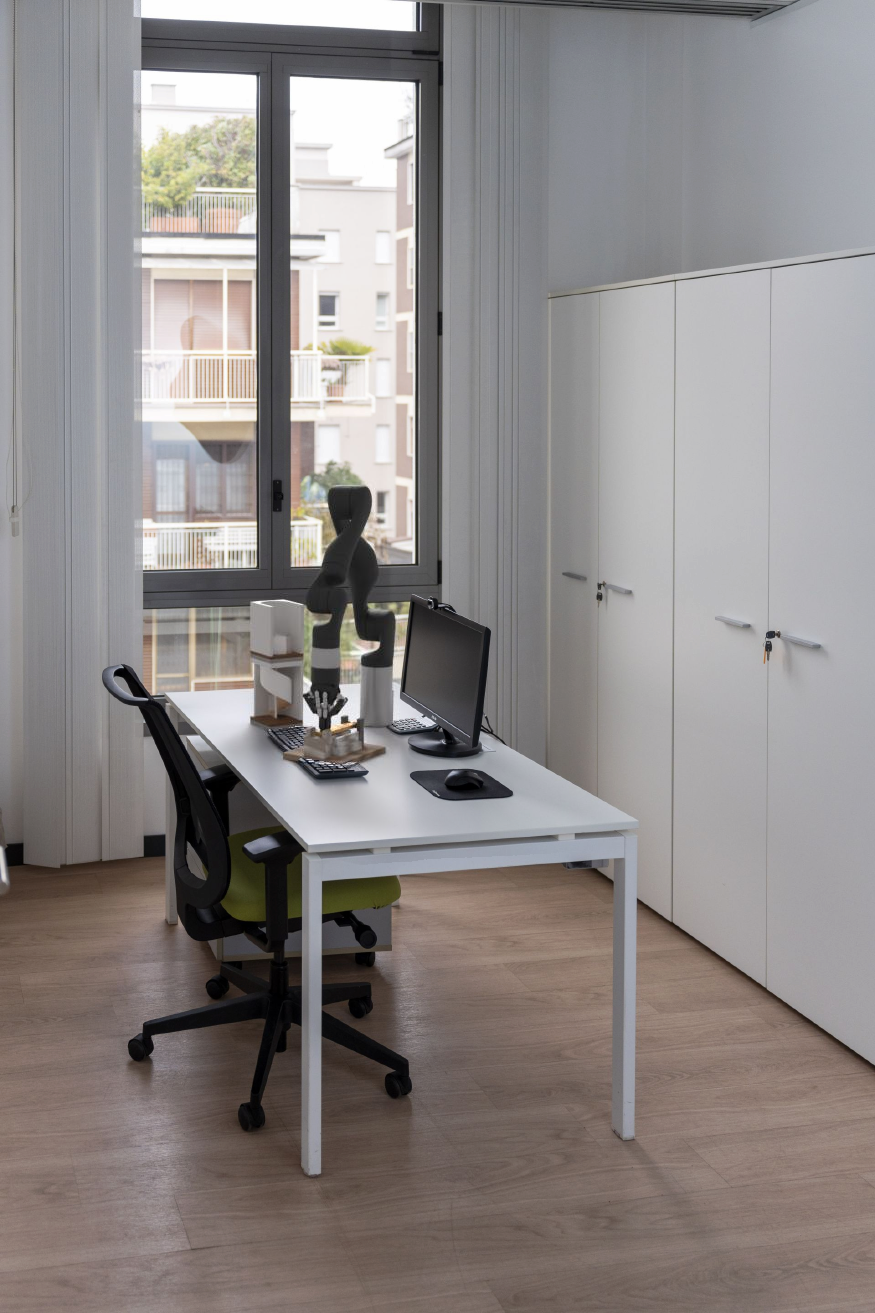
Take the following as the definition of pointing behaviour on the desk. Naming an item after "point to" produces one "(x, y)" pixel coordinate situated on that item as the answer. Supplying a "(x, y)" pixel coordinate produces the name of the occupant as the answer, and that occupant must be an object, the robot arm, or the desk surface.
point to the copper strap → (339, 728)
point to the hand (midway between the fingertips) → (324, 731)
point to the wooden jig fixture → (336, 746)
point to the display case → (277, 663)
